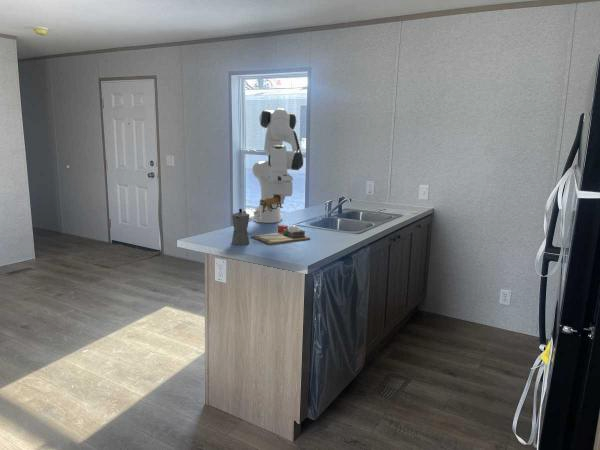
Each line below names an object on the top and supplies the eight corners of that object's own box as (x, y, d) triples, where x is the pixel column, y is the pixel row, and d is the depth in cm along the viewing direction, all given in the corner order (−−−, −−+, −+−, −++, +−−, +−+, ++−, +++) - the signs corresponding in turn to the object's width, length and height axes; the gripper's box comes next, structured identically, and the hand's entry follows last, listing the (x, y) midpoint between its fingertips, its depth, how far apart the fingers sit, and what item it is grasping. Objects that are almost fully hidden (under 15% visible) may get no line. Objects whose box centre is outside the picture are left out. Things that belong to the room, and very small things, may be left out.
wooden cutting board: (251, 237, 241) (251, 230, 240) (290, 232, 255) (290, 225, 254) (269, 245, 225) (269, 237, 225) (310, 239, 240) (310, 232, 239)
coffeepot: (245, 246, 221) (246, 211, 217) (227, 245, 222) (227, 210, 219) (253, 239, 236) (254, 206, 232) (236, 238, 237) (236, 205, 234)
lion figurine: (283, 204, 237) (280, 188, 234) (288, 205, 233) (285, 189, 229) (260, 213, 230) (256, 196, 227) (265, 214, 226) (261, 198, 222)
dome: (285, 234, 245) (286, 224, 243) (295, 233, 248) (295, 223, 247) (292, 237, 239) (292, 226, 238) (301, 235, 243) (302, 225, 242)
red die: (277, 232, 255) (277, 225, 254) (282, 231, 258) (282, 224, 257) (283, 233, 252) (283, 226, 251) (287, 232, 256) (287, 225, 255)
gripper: (263, 175, 235) (263, 201, 238) (284, 178, 219) (284, 206, 221) (273, 175, 239) (273, 200, 241) (294, 177, 222) (294, 205, 225)
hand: (278, 203), depth 231 cm, fingers closed on lion figurine, 4 cm apart
